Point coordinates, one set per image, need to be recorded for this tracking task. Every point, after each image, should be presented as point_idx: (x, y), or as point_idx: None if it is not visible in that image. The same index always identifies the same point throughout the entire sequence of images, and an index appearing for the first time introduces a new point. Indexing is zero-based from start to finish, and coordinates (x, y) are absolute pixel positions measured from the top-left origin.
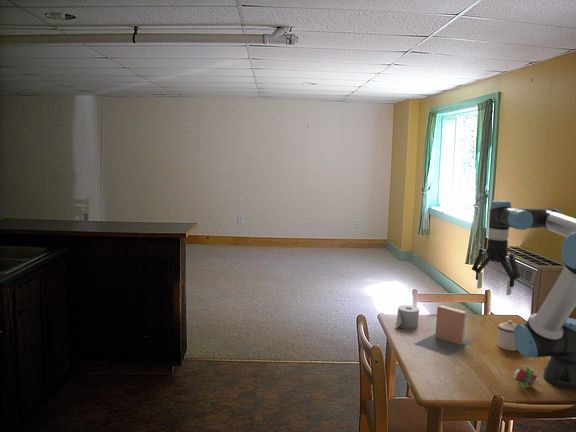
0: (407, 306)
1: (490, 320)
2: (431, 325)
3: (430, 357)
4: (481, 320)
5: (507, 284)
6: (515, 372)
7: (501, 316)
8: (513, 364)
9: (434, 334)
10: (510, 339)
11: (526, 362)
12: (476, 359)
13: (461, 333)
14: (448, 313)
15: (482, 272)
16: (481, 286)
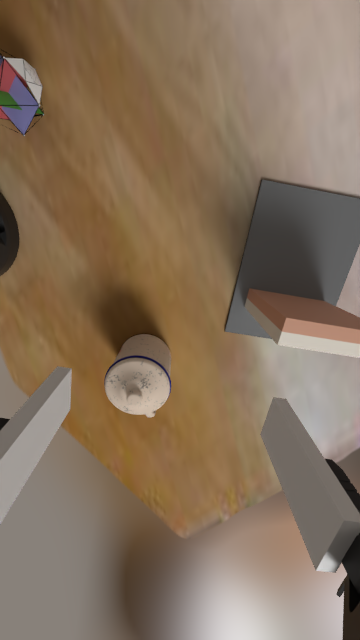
0: None
1: (222, 488)
2: (347, 380)
3: (309, 132)
4: (240, 478)
5: (23, 424)
6: (28, 70)
7: (206, 521)
8: (99, 250)
9: None
10: (129, 348)
11: (79, 286)
12: (188, 217)
13: (260, 296)
14: (338, 322)
15: (319, 568)
16: (264, 438)
